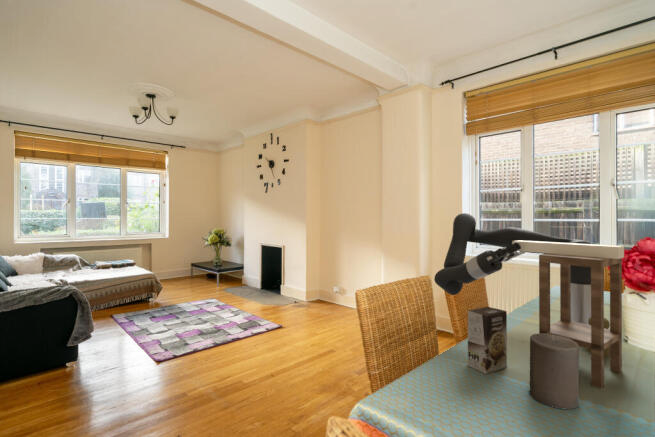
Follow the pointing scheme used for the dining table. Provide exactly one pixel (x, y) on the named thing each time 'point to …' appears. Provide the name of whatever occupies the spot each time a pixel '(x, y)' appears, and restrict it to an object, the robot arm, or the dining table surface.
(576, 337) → the walnut shelf
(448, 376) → the dining table surface
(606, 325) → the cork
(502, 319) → the coffee box
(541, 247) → the cutlery box
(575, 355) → the pillar candle
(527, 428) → the dining table surface
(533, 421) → the dining table surface
